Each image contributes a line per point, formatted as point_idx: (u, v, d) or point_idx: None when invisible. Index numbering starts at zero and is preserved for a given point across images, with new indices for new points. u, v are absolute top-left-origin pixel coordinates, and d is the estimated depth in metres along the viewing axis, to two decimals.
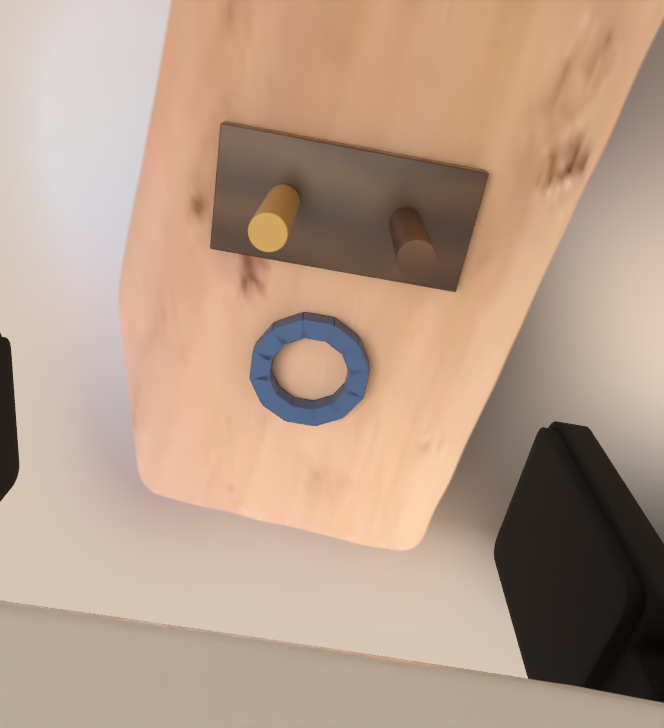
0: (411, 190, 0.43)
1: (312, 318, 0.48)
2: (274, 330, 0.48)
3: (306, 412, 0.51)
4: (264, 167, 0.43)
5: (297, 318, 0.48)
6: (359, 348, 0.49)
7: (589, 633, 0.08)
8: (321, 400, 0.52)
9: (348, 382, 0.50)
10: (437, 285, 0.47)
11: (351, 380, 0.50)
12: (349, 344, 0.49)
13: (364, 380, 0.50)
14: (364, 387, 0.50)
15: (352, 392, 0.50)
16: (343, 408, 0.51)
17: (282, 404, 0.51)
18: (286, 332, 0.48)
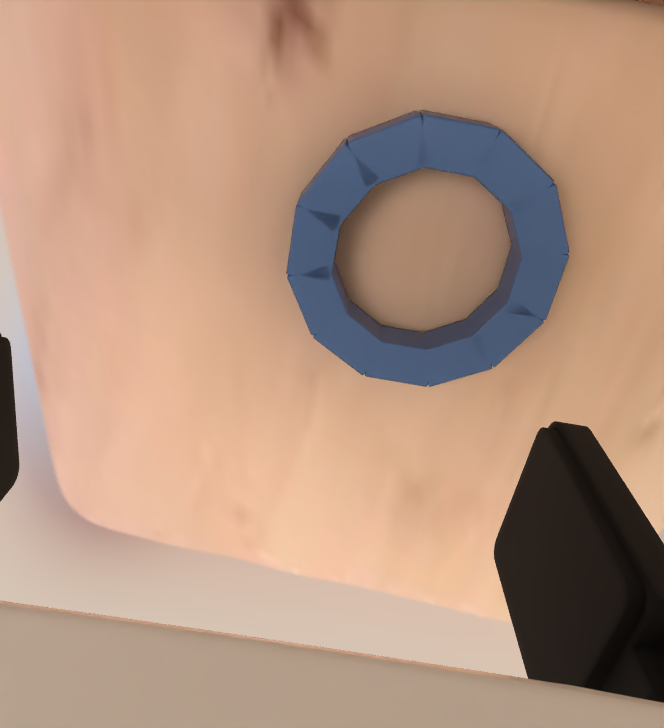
0: None
1: (445, 116, 0.20)
2: (351, 146, 0.20)
3: (411, 355, 0.23)
4: None
5: (408, 117, 0.20)
6: (555, 194, 0.20)
7: (589, 633, 0.08)
8: (441, 331, 0.24)
9: (516, 283, 0.22)
10: None
11: (523, 279, 0.21)
12: (532, 183, 0.20)
13: (555, 277, 0.21)
14: (552, 295, 0.22)
15: (522, 307, 0.22)
16: (496, 346, 0.23)
17: (358, 335, 0.23)
18: (380, 151, 0.20)
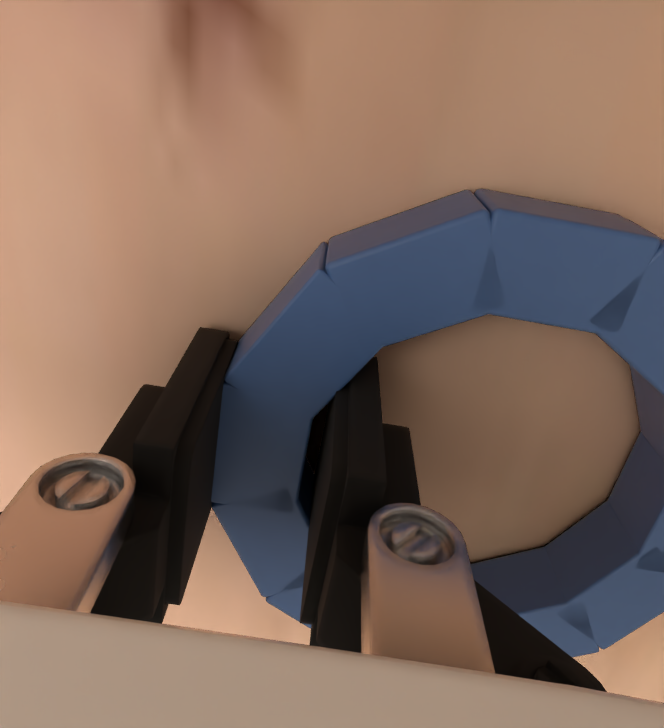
0: None
1: (535, 208, 0.09)
2: (333, 273, 0.09)
3: None
4: None
5: (458, 210, 0.09)
6: None
7: (319, 521, 0.09)
8: (501, 570, 0.13)
9: (661, 521, 0.11)
10: None
11: None
12: None
13: None
14: None
15: None
16: (611, 619, 0.12)
17: None
18: (396, 284, 0.09)
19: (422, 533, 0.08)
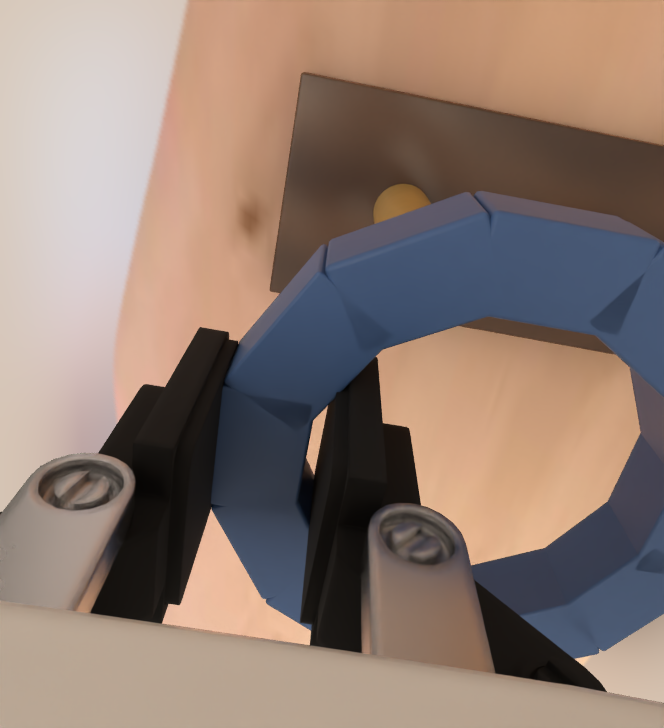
0: (626, 196, 0.25)
1: (535, 210, 0.09)
2: (333, 275, 0.09)
3: None
4: (373, 153, 0.24)
5: (458, 213, 0.09)
6: None
7: (319, 521, 0.09)
8: (501, 571, 0.13)
9: (662, 523, 0.11)
10: None
11: None
12: None
13: None
14: None
15: None
16: (611, 621, 0.12)
17: None
18: (396, 286, 0.09)
19: (422, 533, 0.08)
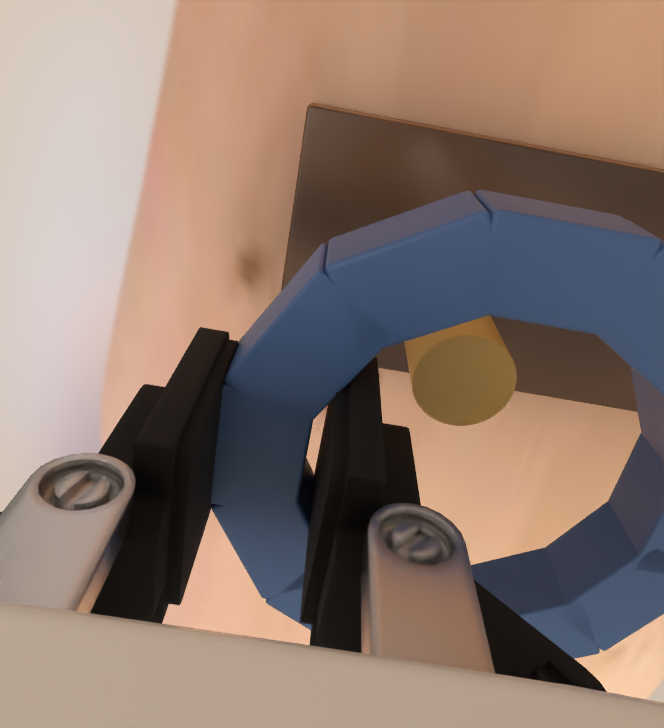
0: None
1: (536, 209, 0.09)
2: (333, 274, 0.09)
3: None
4: (392, 197, 0.21)
5: (458, 212, 0.09)
6: None
7: (319, 520, 0.09)
8: (501, 571, 0.13)
9: (662, 523, 0.11)
10: None
11: None
12: None
13: None
14: None
15: None
16: (611, 620, 0.12)
17: None
18: (396, 285, 0.09)
19: (422, 533, 0.08)
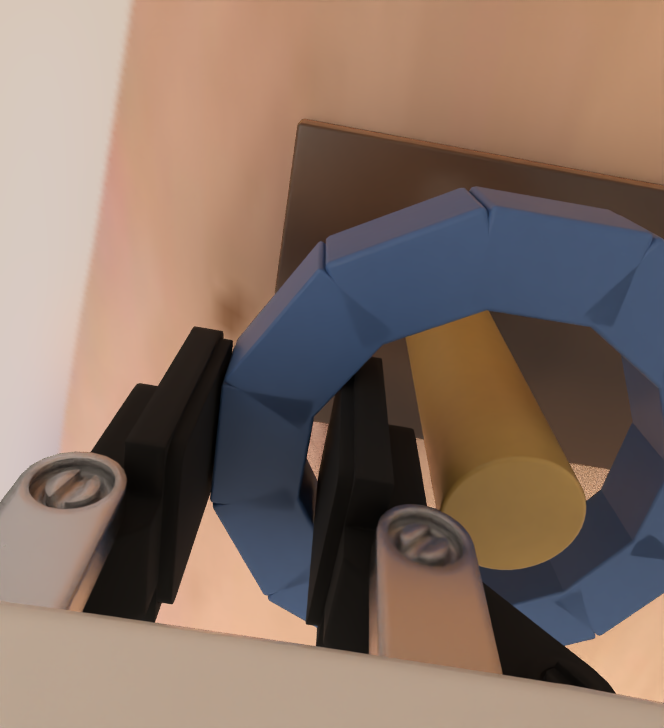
0: None
1: (531, 204, 0.09)
2: (333, 272, 0.09)
3: None
4: None
5: (455, 208, 0.09)
6: None
7: (326, 522, 0.09)
8: None
9: (655, 509, 0.11)
10: None
11: None
12: None
13: None
14: None
15: (662, 548, 0.12)
16: (607, 606, 0.12)
17: None
18: (396, 282, 0.09)
19: (431, 535, 0.08)
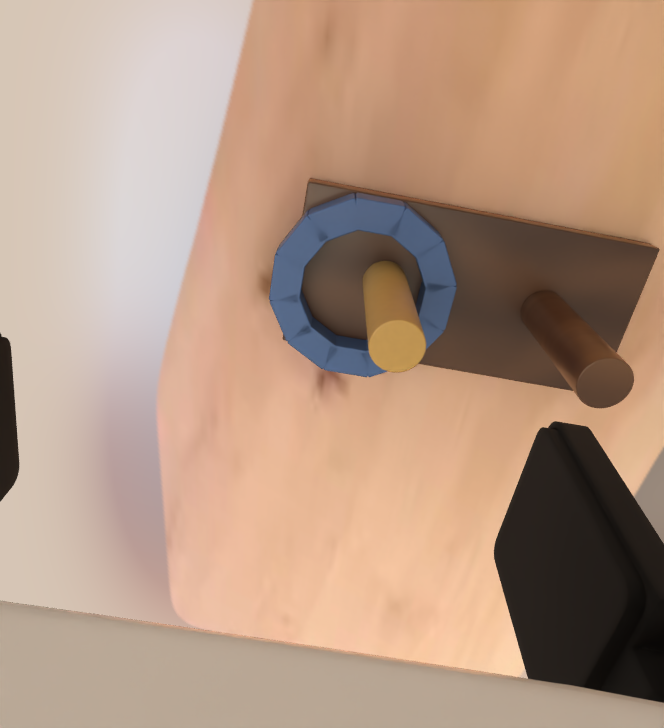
0: (554, 269, 0.33)
1: (371, 197, 0.30)
2: (310, 217, 0.30)
3: (355, 355, 0.33)
4: (362, 238, 0.32)
5: (347, 198, 0.30)
6: (444, 247, 0.31)
7: (589, 633, 0.08)
8: None
9: (423, 305, 0.32)
10: None
11: (427, 302, 0.32)
12: (428, 240, 0.31)
13: (448, 301, 0.32)
14: (447, 313, 0.32)
15: (428, 321, 0.33)
16: None
17: (318, 341, 0.33)
18: (329, 220, 0.30)
19: None
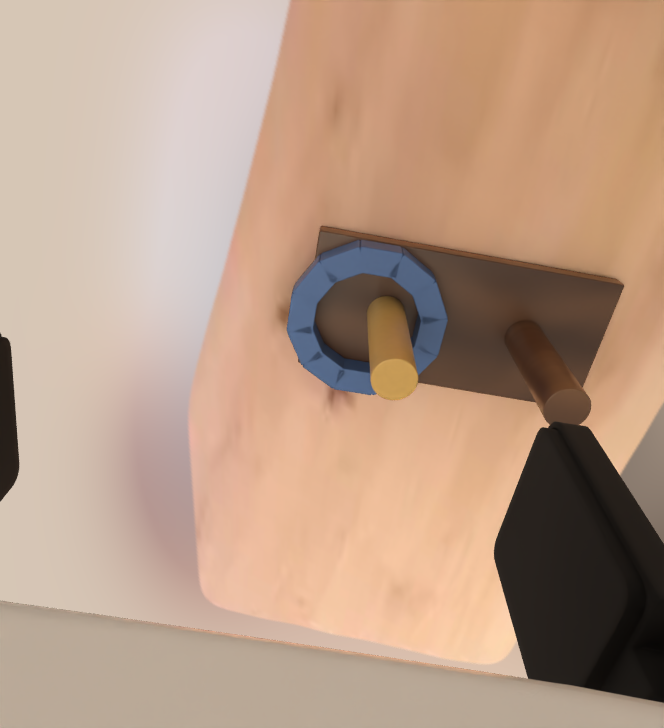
0: (533, 303, 0.38)
1: (373, 245, 0.36)
2: (322, 262, 0.36)
3: (361, 376, 0.39)
4: (366, 277, 0.38)
5: (353, 246, 0.36)
6: (436, 287, 0.36)
7: (589, 633, 0.08)
8: None
9: (419, 334, 0.37)
10: None
11: (422, 332, 0.37)
12: (423, 281, 0.36)
13: (440, 331, 0.37)
14: (440, 341, 0.38)
15: (423, 348, 0.38)
16: None
17: (329, 365, 0.39)
18: (338, 265, 0.36)
19: None
